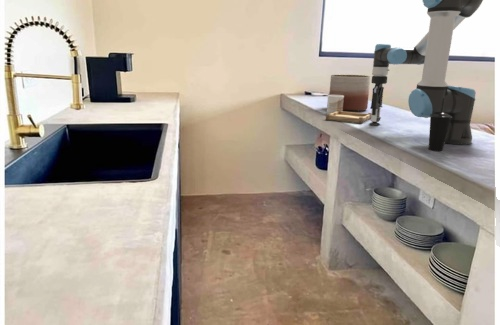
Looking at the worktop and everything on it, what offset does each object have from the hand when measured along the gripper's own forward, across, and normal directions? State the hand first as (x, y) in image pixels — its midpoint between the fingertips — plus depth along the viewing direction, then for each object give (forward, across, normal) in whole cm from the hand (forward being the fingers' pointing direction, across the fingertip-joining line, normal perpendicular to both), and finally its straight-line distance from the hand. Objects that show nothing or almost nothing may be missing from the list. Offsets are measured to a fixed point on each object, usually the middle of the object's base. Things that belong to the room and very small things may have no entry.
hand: (374, 120), depth 195 cm
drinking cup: (+3, -42, -34) cm, 54 cm away
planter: (+2, +45, +29) cm, 54 cm away
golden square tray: (+2, +7, +16) cm, 18 cm away
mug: (+2, +24, +30) cm, 39 cm away
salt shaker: (+2, 0, 0) cm, 2 cm away
